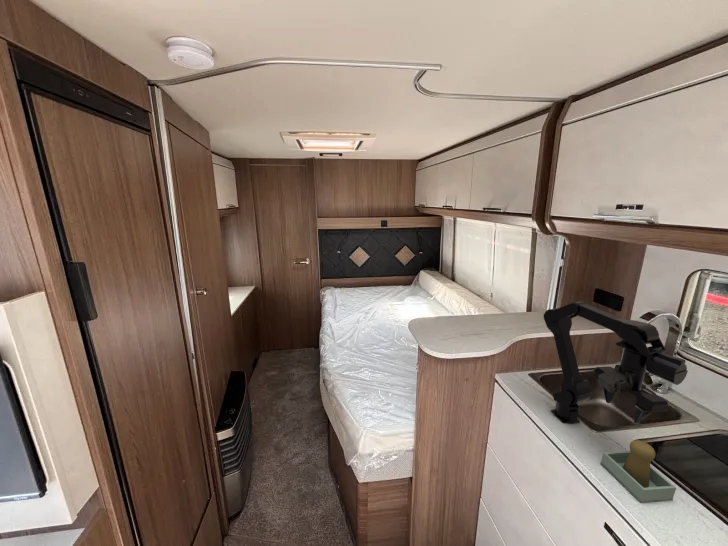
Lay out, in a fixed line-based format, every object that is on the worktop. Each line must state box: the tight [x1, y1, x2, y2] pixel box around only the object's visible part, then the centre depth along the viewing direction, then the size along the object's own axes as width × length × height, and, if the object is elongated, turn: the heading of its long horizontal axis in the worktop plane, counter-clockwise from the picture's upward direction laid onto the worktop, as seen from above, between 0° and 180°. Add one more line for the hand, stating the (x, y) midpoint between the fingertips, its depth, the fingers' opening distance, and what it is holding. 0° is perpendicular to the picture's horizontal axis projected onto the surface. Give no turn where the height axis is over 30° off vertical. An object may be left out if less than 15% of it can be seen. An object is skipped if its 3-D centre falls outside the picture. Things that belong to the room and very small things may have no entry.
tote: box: [600, 450, 677, 504], centre depth 85 cm, size 12×9×4 cm
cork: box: [622, 439, 656, 488], centre depth 84 cm, size 6×6×11 cm
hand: (621, 412), depth 93 cm, fingers open, 9 cm apart
